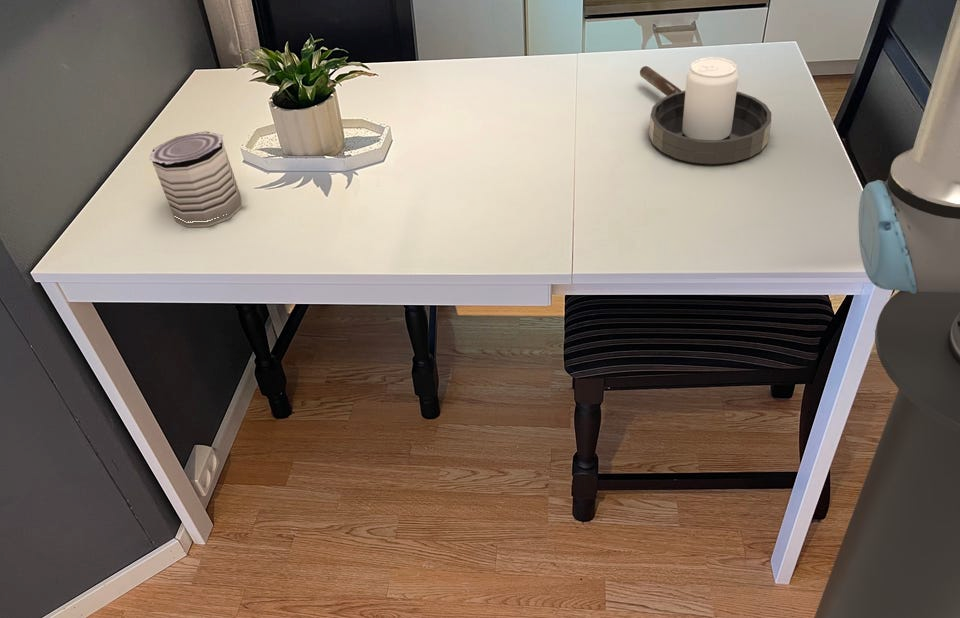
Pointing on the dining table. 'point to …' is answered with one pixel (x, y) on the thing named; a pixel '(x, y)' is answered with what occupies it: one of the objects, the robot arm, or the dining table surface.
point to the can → (197, 179)
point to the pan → (739, 145)
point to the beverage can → (710, 99)
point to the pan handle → (658, 81)
